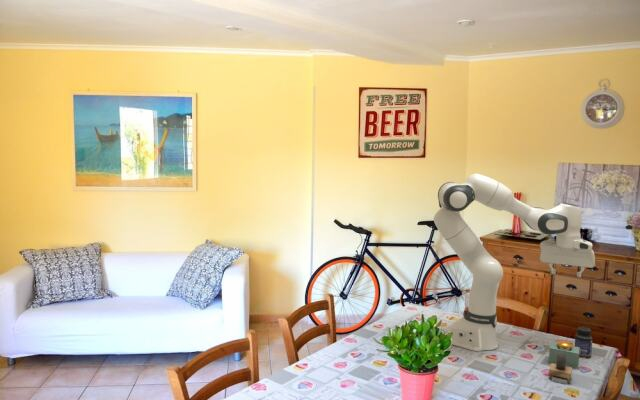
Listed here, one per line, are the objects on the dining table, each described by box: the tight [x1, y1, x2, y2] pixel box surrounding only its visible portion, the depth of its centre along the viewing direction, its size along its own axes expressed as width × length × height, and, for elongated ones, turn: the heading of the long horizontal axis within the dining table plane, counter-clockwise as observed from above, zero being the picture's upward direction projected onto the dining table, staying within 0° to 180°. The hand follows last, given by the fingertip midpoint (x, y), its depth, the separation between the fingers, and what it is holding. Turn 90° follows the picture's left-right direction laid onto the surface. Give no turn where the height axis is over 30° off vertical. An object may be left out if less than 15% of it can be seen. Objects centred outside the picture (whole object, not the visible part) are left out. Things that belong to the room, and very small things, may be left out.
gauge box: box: [548, 341, 580, 370], centre depth 188 cm, size 10×7×6 cm
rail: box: [550, 362, 570, 386], centre depth 178 cm, size 5×15×2 cm, turn 149°
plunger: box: [556, 339, 574, 351], centre depth 188 cm, size 6×6×6 cm
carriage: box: [548, 353, 573, 384], centre depth 175 cm, size 7×6×8 cm
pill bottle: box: [574, 326, 593, 359], centre depth 194 cm, size 6×6×11 cm
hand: (566, 275), depth 199 cm, fingers open, 8 cm apart
